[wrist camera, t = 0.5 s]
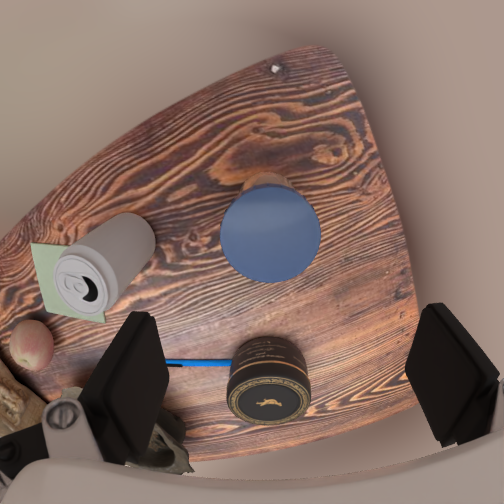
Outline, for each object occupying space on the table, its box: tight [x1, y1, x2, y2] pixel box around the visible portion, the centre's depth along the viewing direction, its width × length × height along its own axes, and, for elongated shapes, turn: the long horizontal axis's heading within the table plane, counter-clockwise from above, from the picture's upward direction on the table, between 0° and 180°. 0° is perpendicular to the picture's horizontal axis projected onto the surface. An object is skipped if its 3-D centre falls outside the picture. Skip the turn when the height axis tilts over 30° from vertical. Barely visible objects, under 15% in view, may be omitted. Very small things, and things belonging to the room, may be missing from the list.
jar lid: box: [220, 182, 321, 283], centre depth 21 cm, size 7×7×2 cm
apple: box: [9, 320, 54, 371], centre depth 35 cm, size 8×8×8 cm
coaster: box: [30, 242, 106, 323], centre depth 35 cm, size 11×11×1 cm
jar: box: [227, 337, 311, 425], centre depth 35 cm, size 10×10×8 cm
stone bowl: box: [61, 387, 195, 475], centre depth 41 cm, size 25×25×9 cm
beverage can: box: [53, 213, 155, 316], centre depth 27 cm, size 6×6×12 cm
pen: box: [165, 359, 232, 367], centre depth 38 cm, size 1×19×1 cm, turn 95°
